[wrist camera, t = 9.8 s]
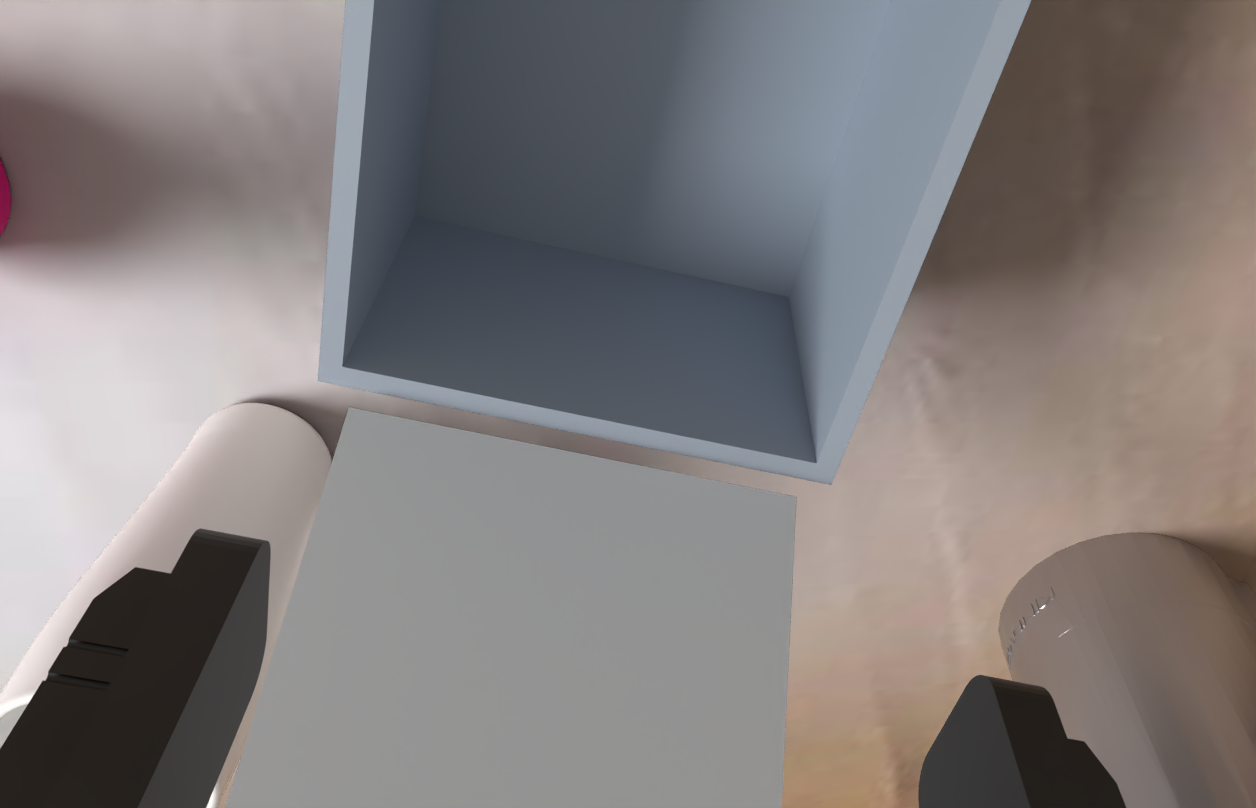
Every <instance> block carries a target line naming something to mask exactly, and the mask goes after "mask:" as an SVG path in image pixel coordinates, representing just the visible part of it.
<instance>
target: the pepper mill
mask: <svg viewBox="0 0 1256 808" xmlns="http://www.w3.org/2000/svg"><path fill="white" fill-rule="evenodd" d="M10 207H11V197H10V186H9V182H8V179H7V176H6V173H5V170H4V168H3V165H2V163H1V161H0V235H1V234H2V232H3V231H4V229H5V227H6V224H7V221H8V219H9V214H10Z"/></svg>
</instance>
